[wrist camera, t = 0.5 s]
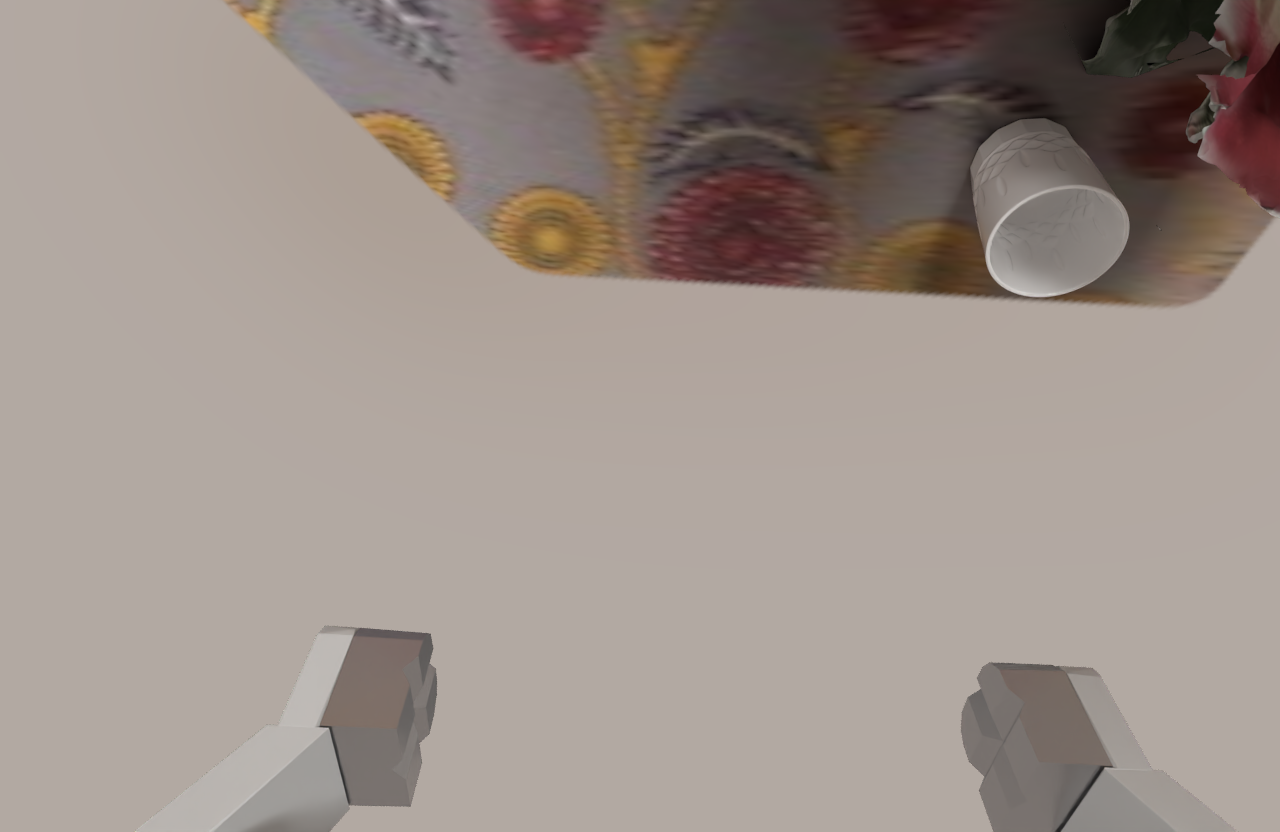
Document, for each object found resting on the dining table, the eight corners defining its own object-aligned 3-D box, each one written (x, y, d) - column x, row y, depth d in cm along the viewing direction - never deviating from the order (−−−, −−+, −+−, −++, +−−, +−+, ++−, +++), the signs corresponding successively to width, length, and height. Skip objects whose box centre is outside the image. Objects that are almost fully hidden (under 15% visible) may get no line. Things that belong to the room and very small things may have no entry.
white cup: (979, 230, 60) (1005, 314, 53) (945, 142, 55) (969, 220, 48) (1096, 184, 56) (1141, 268, 49) (1069, 86, 52) (1114, 162, 45)
